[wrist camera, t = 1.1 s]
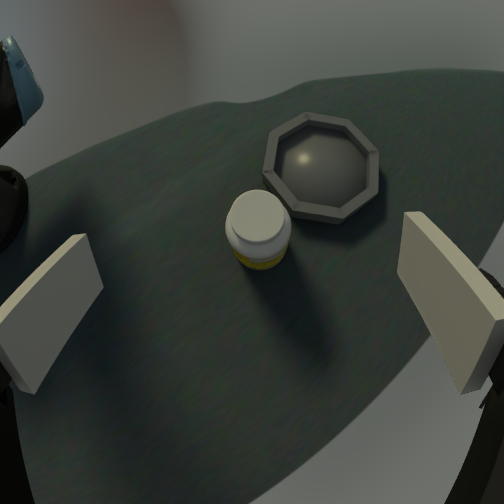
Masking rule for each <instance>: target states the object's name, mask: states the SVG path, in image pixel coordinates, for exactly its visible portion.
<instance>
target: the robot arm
mask: <svg viewBox="0 0 504 504" xmlns="http://www.w3.org/2000/svg"><path fill="white" fill-rule="evenodd" d="M43 100H44V96H43V92H42V90H41V88H40V86H39V83H38V81H37V80H36V78H35V76H34V74H33V72H32V70H31V68H30V66H29V64H28V63H27V61H26V59H25V57H24V55H23V53H22V51H21V49H20V48H19V46H18V44H17V42H16V41H15V39H14V38H13V36H8V37H6V38H4V39H2V41H1V42H0V148H1V147H2V146H3V145H4V144H5V143H6V142H7V141H8V140H9V139H10V138H11V137H12V136H13V135H14V134H15V133H16V132H17V131H18V130H19V129H20V128H21V127H22V126H25V125H26V123H27V121H28V120H29V119H30V118H31V117H32V116H33V115H34V114H35V113H36V112H37V110H39V109H40V107H41V106H42V103H43ZM26 206H27V185H26V182H25V179H24V177H23V176H22V175H21V174H20V173H19V172H17V171H16V170H15V169H13V168H11V167H9V166H4V165H0V252H2V251H3V250H4V249H6V248H7V247H8V245H9V244H10V243H11V242H12V240H13V239H14V237H15V236H16V234H17V232H18V230H19V228H20V226H21V224H22V221H23V218H24V215H25V211H26ZM397 274H398V276H399V277H400V279H401V281H402V282H403V284H404V286H405V288H406V289H407V291H408V293H409V295H410V296H411V298H412V300H413V302H414V303H415V305H416V307H417V309H418V311H419V313H420V314H421V316H422V318H423V320H424V322H425V324H426V326H427V327H428V329H429V331H430V333H431V335H432V337H433V339H434V341H435V343H436V345H437V347H438V349H439V351H440V353H441V355H442V357H443V359H444V361H445V363H446V365H447V367H448V369H449V372H450V374H451V376H452V378H453V380H454V382H455V385H456V387H457V389H458V391H459V394H460V395H462V394H465V393H469V392H472V391H476V390H479V389H481V387H482V386H483V384H484V382H485V380H486V378H487V377H488V375H489V377H490V379H491V381H492V383H493V385H492V387H491V389H490V390H489V392H488V393H487V395H486V397H485V398H484V400H483V401H482V403H481V405H480V406H479V408H481V409H482V407H483V406H484V404H485V406H484V409H483V412H482V415H481V418H480V421H479V424H478V427H477V430H476V433H475V436H474V438H473V441H472V444H471V446H470V449H469V451H468V454H467V456H466V459H465V461H464V463H463V466H462V468H461V471H460V472H459V475H458V477H457V479H456V481H455V483H454V485H453V487H452V489H451V491H450V493H449V495H448V497H447V499H446V501H445V503H444V504H504V288H503V287H501V285H500V284H499V282H498V281H497V280H496V279H495V278H494V277H493V276H492V275H490V274H489V273H487V272H486V271H484V270H482V269H481V268H480V269H477V268H476V267H475V265H474V264H473V263H472V262H471V261H470V260H469V259H468V258H467V257H466V256H465V255H464V254H463V253H462V252H461V251H460V249H459V248H458V247H457V246H456V245H455V244H454V243H453V242H452V241H451V240H450V239H449V238H448V237H447V236H446V235H445V234H444V233H443V232H442V231H441V230H440V229H439V228H438V227H437V226H436V225H435V224H434V223H433V222H432V221H430V220H429V219H428V218H427V217H426V216H425V215H424V214H423V213H422V212H404V221H403V230H402V239H401V247H400V255H399V262H398V269H397ZM103 288H104V286H103V283H102V280H101V278H100V275H99V272H98V269H97V266H96V263H95V260H94V257H93V254H92V251H91V248H90V244H89V241H88V238H87V235H86V234H77V235H72V236H71V237H70V238H69V239H68V240H67V241H66V242H65V243H64V244H62V245H61V246H60V247H59V248H58V249H57V250H56V251H55V252H54V253H53V254H52V255H51V256H50V257H49V258H47V259H46V260H45V261H44V262H43V263H42V264H41V265H40V266H39V267H38V268H37V269H36V270H35V271H34V272H33V273H32V274H31V275H30V276H29V277H28V278H27V279H26V280H25V281H24V282H23V283H22V284H21V285H20V286H19V287H18V288H17V289H16V291H15V292H14V293H13V294H12V295H11V296H10V297H9V298H8V299H7V300H6V301H5V302H4V303H3V304H2V306H1V307H0V504H35V502H34V499H33V496H32V492H31V489H30V485H29V481H28V477H27V473H26V469H25V465H24V460H23V455H22V450H21V445H20V440H19V434H18V428H17V421H16V414H15V406H14V397H13V391H12V389H11V388H10V386H9V385H8V384H9V382H10V381H11V379H12V380H13V381H14V383H15V384H16V385H17V387H18V388H19V389H20V391H23V392H27V393H30V394H34V395H35V393H36V391H37V390H38V388H39V386H40V384H41V383H42V381H43V379H44V378H45V376H46V374H47V373H48V371H49V369H50V368H51V366H52V364H53V363H54V361H55V359H56V358H57V356H58V355H59V353H60V351H61V350H62V348H63V347H64V345H65V344H66V342H67V341H68V339H69V337H70V336H71V334H72V333H73V331H74V330H75V328H76V327H77V325H78V324H79V322H80V321H81V319H82V318H83V316H84V315H85V313H86V312H87V310H88V309H89V308H90V306H91V305H92V303H93V302H94V300H95V299H96V297H97V296H98V295H99V293H100V292H101V290H102V289H103Z"/></svg>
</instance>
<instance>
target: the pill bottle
mask: <svg viewBox="0 0 504 504" xmlns="http://www.w3.org/2000/svg"><path fill="white" fill-rule="evenodd" d="M225 228H226V235H227V238H228V241H229V243H230V245H231V247H232V249H233V251H234V253H235V255H236V257H237V258H238V260H239V261H240V262H241V263H242V264H243V265H245V266H246V267H248V268H250V269H254V270H266V269H270V268H272V267H274V266H275V265H277V264H278V263H279V262H280V261H281V260H282V258H283V257H284V255H285V252H286V249H287V246H288V242H289V239H290V235H291V219H290V216H289V213H288V211H287V210H286V208H285V207H284V206H283V205H282V203H281V202H280V200H279V199H278V198H277V197H276V196H275V195H273V194H271V193H270V192H267V191H264V190H251V191H248V192H245V193H243V194H242V195H240V196H239V197H238V198H237V199H236V200H235V202H234V203H233V205H232V207H231V210H230V211H229V213H228V216H227V219H226V225H225Z"/></svg>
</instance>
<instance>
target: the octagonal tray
mask: <svg viewBox="0 0 504 504" xmlns="http://www.w3.org/2000/svg"><path fill="white" fill-rule="evenodd" d="M262 176H263V182H264V183H265V185H266V186H267V187H268V188H269V190H270V191H271V192H272V193H273V195H275V196H276V197H277V198H278V199H279V200H280V202H281V203H282V205H283V206H284V207H285V208H286V210H287V211H288V213H289V215H290V216H291V217H294V218H301V219H307V220H313V221H319V222H325V223H331V224H337V225H339V224H341V223H342V222H343V221H345V220H346V219H347V218H349V217H350V216H351V215H353V214H354V213H355V212H357V211H358V210H359V209H361V208H362V207H363V206H365V205H366V204H367V203H369V202H370V201H371V200H373V198H374V197H375V196H376V195H377V193H378V182H379V151H378V150H377V149H376V148H375V147H374V146H373V145H372V143H371V142H370V141H369V140H368V139H367V138H366V137H365V136H364V135H363V134H362V133H361V132H360V131H359V129H358V128H357V127H356V126H355V125H354V124H353V123H352V122H351V121H350V120H348V119H343V118H338V117H333V116H327V115H322V114H316V113H310V112H304V113H302V114H301V115H299V116H297V117H295V118H293V119H292V120H290V121H288V122H286V123H285V124H283V125H281V126H279V127H278V128H276V129H274V130H273V131H271V132H270V134H269V139H268V144H267V150H266V155H265V161H264V166H263V172H262Z"/></svg>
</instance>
